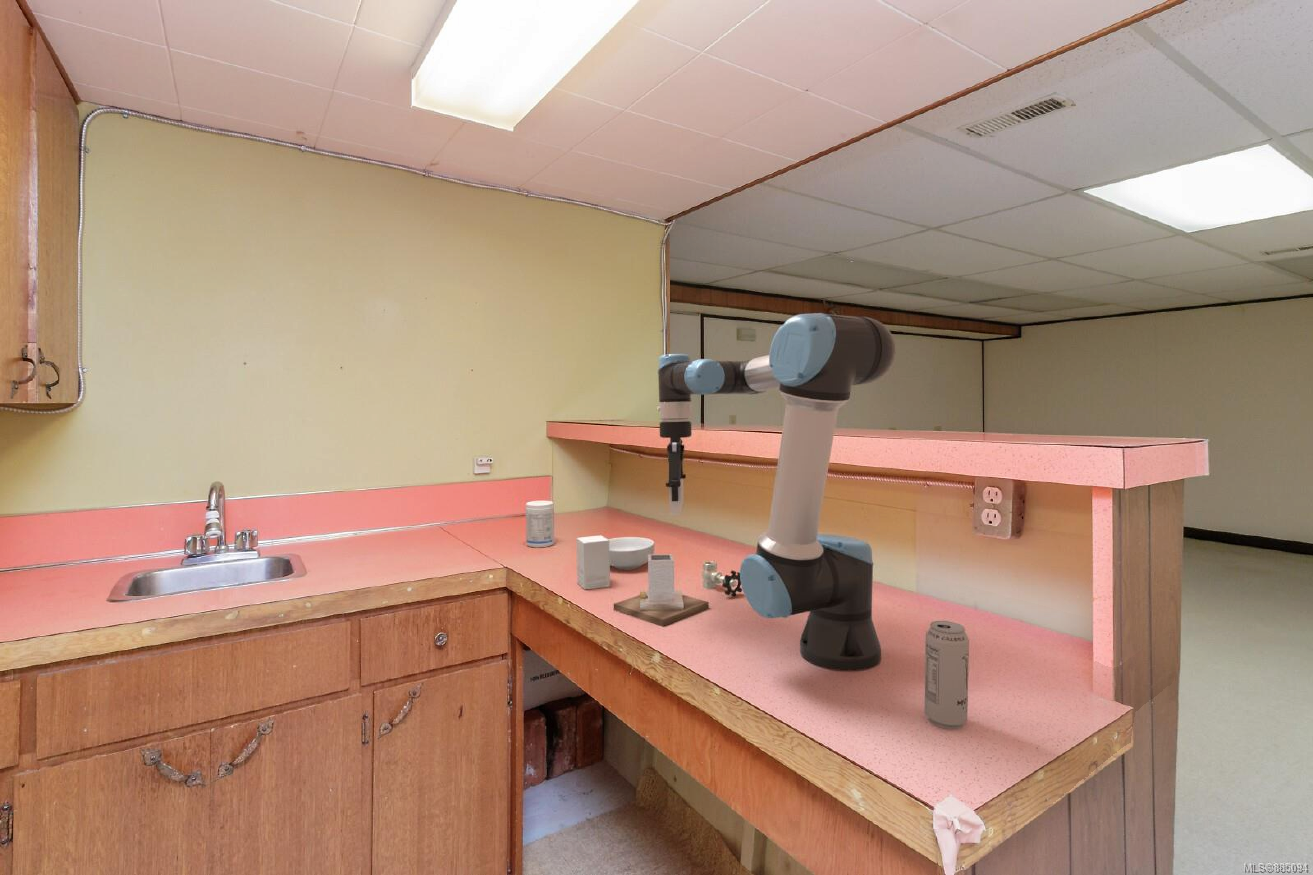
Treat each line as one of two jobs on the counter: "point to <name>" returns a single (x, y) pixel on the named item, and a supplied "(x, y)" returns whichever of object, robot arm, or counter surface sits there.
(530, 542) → the supplement tub
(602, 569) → the supplement box
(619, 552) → the cereal bowl
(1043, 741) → the counter surface
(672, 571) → the white hollow block
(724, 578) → the valve
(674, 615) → the base board
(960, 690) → the energy drink can
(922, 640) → the counter surface
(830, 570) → the robot arm
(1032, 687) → the counter surface
